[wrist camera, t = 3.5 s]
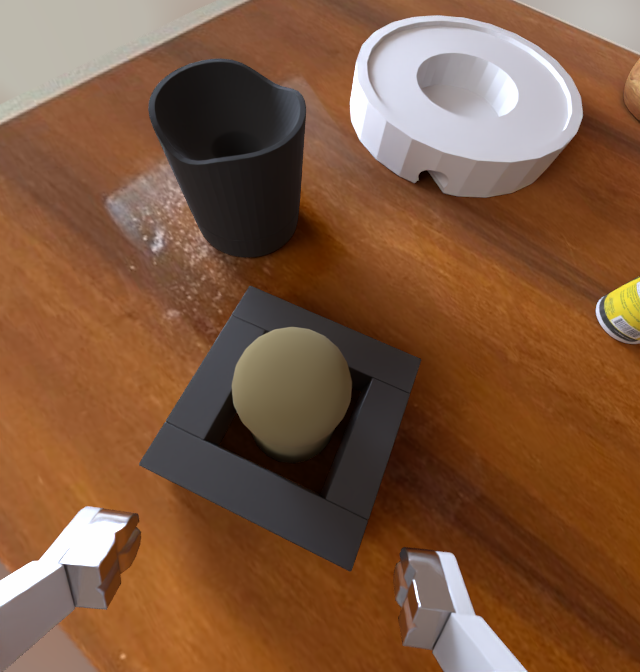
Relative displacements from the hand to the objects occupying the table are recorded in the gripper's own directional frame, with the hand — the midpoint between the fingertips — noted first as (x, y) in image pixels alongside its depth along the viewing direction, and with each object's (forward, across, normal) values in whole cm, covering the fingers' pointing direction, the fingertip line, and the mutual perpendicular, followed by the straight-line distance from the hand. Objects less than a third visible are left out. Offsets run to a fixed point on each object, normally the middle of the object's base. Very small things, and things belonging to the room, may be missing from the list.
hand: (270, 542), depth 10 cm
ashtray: (+37, +12, +20) cm, 44 cm away
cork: (+12, 0, -4) cm, 13 cm away
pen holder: (+24, -7, +7) cm, 26 cm away
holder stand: (+12, 0, -4) cm, 13 cm away
